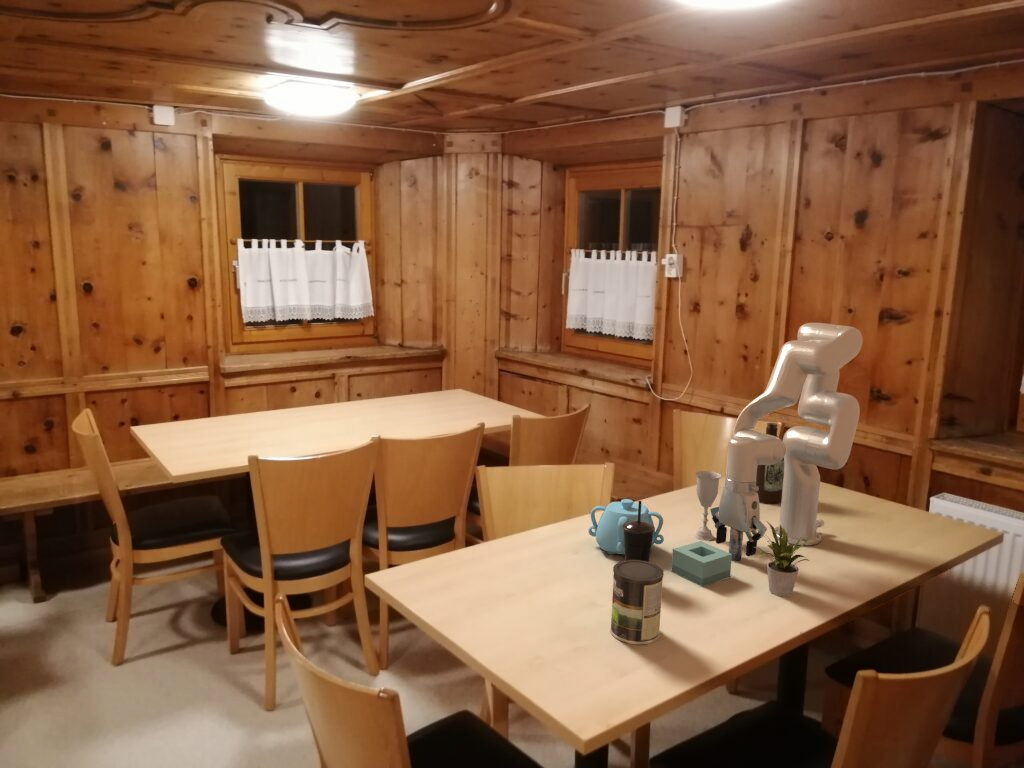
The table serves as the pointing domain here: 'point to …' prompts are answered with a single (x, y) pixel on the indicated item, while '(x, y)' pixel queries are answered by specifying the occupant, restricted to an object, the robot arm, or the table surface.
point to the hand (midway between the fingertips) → (735, 548)
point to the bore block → (701, 563)
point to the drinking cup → (638, 538)
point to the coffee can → (636, 601)
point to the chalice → (706, 498)
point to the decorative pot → (620, 524)
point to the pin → (736, 544)
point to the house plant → (782, 564)
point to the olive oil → (770, 476)
